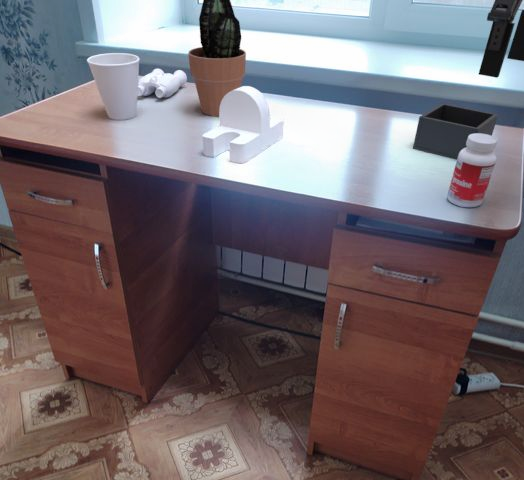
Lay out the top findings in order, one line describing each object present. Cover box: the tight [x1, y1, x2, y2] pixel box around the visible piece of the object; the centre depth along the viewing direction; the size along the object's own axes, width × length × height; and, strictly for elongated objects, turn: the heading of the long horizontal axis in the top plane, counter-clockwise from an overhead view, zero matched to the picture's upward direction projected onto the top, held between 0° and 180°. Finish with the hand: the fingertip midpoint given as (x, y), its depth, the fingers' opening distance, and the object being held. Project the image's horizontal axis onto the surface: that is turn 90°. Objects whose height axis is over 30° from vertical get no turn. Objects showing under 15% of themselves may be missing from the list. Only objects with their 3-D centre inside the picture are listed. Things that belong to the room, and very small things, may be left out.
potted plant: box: [187, 0, 247, 117], centre depth 120 cm, size 14×14×25 cm
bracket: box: [202, 85, 285, 164], centre depth 106 cm, size 19×10×11 cm, turn 152°
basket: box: [412, 102, 499, 160], centre depth 109 cm, size 13×13×7 cm
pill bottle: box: [446, 133, 498, 208], centre depth 87 cm, size 6×6×11 cm
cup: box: [86, 52, 141, 121], centre depth 120 cm, size 12×12×12 cm
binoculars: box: [137, 68, 188, 99], centre depth 138 cm, size 10×16×5 cm, turn 168°
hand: (503, 67), depth 77 cm, fingers open, 13 cm apart
